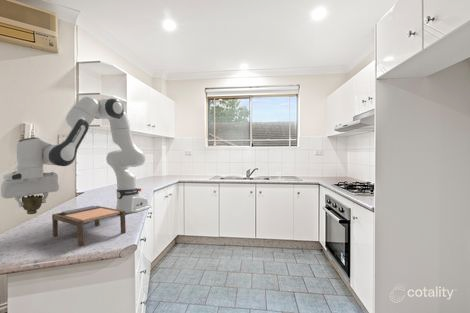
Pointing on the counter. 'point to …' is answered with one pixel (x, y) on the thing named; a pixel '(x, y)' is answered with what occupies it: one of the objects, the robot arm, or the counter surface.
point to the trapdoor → (89, 213)
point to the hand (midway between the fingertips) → (32, 204)
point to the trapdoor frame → (79, 224)
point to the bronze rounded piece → (32, 203)
